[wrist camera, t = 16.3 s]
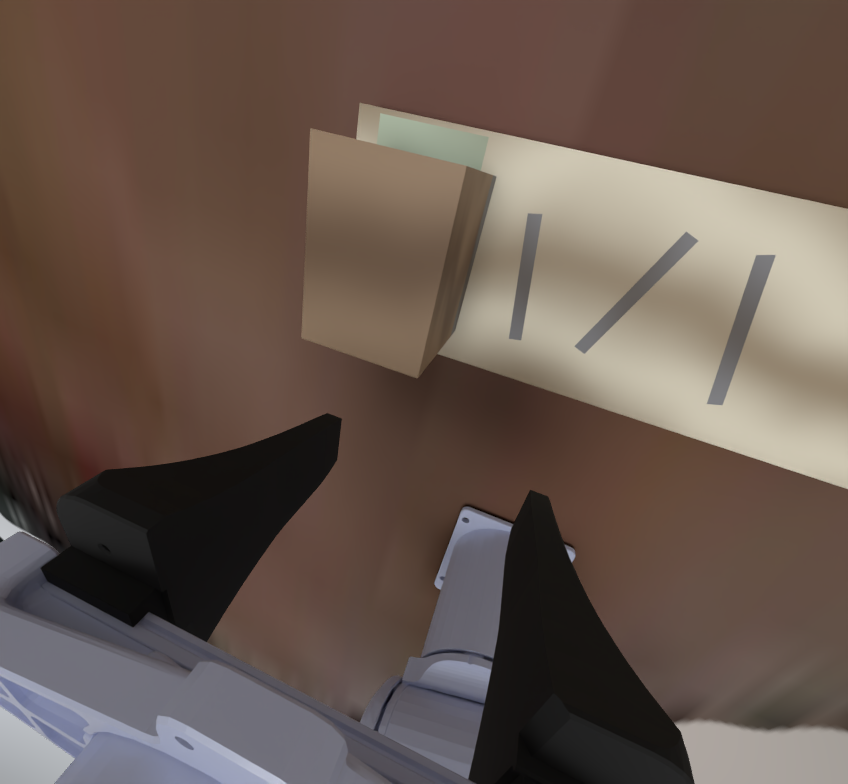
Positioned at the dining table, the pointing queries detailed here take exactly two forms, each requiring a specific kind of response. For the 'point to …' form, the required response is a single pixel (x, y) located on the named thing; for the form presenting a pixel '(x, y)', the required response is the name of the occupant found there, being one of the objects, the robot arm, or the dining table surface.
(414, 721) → the robot arm
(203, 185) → the dining table surface
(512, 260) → the birch board
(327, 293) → the eraser block
